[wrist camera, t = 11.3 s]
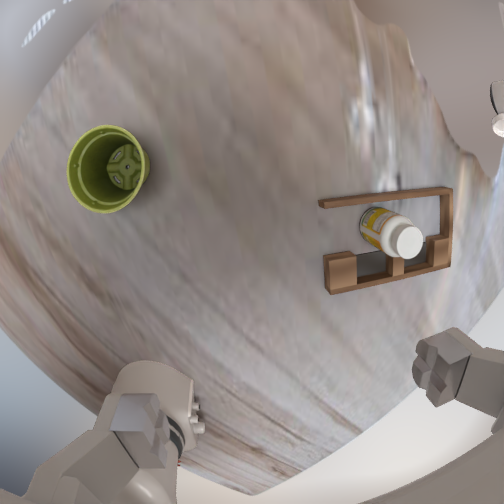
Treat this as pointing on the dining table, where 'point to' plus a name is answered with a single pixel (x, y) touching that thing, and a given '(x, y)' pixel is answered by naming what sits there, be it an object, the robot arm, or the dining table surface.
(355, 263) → the frame
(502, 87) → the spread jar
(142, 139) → the dining table surface
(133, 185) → the plant pot
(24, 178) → the dining table surface
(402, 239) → the supplement bottle
